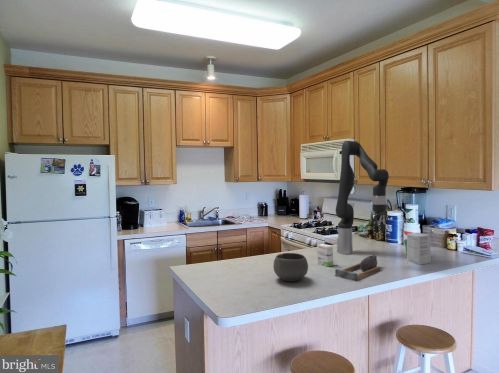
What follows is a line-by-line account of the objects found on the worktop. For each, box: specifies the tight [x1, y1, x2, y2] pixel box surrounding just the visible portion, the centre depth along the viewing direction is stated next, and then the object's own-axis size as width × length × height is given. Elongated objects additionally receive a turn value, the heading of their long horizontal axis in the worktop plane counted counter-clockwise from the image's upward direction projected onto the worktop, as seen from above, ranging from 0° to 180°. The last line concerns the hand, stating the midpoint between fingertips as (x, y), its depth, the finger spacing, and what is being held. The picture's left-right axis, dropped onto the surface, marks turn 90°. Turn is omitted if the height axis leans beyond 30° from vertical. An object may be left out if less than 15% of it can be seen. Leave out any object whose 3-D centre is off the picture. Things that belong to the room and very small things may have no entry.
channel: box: [334, 262, 381, 282], centre depth 185 cm, size 12×25×4 cm, turn 131°
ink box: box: [316, 243, 334, 267], centre depth 203 cm, size 9×5×12 cm, turn 34°
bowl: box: [273, 252, 309, 282], centre depth 178 cm, size 18×18×13 cm
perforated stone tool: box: [359, 254, 378, 272], centre depth 192 cm, size 15×5×7 cm, turn 126°
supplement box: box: [406, 232, 432, 266], centre depth 203 cm, size 10×9×17 cm
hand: (379, 231), depth 200 cm, fingers open, 6 cm apart
